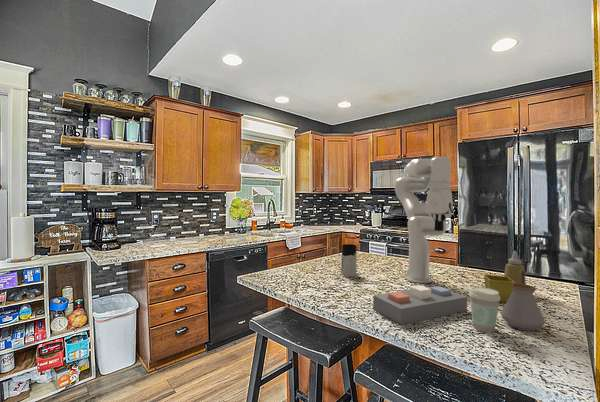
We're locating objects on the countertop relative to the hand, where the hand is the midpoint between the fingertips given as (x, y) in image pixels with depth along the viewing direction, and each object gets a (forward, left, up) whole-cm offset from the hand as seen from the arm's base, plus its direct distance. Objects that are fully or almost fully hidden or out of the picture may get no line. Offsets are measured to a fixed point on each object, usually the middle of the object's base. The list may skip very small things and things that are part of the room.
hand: (438, 230), depth 125 cm
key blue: (+10, -10, -26) cm, 29 cm away
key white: (+10, -20, -24) cm, 33 cm away
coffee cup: (+29, -13, -27) cm, 42 cm away
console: (+10, -20, -27) cm, 35 cm away
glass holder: (-43, -19, -27) cm, 54 cm away
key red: (+10, -30, -25) cm, 41 cm away
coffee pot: (+30, +5, -27) cm, 41 cm away
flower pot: (+14, +18, -27) cm, 36 cm away
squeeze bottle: (+10, +35, -27) cm, 46 cm away
